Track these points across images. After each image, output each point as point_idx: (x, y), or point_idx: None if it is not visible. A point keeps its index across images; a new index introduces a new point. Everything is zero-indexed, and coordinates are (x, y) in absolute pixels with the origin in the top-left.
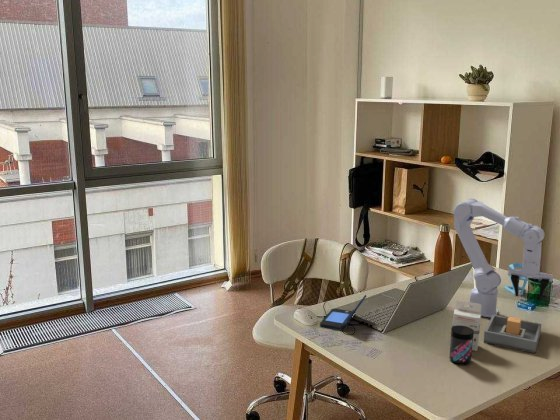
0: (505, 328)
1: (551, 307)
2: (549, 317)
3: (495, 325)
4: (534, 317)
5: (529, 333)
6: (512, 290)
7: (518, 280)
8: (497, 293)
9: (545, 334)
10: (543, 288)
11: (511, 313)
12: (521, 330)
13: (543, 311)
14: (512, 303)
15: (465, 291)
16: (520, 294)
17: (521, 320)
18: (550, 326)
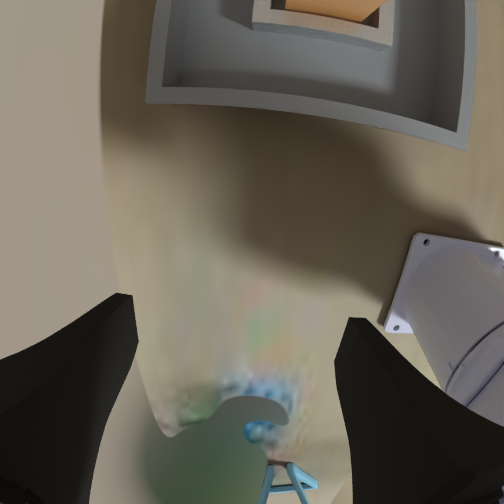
0: (376, 20)
1: (166, 419)
2: (154, 343)
3: (422, 111)
4: (213, 325)
5: (227, 59)
6: (298, 476)
7: (386, 490)
8: (450, 368)
9: (144, 123)
10: (16, 363)
11: (321, 332)
12: (277, 12)
13: (186, 388)
14: (306, 417)
15: None
16: (273, 467)
17: (284, 103)
18: (132, 245)
